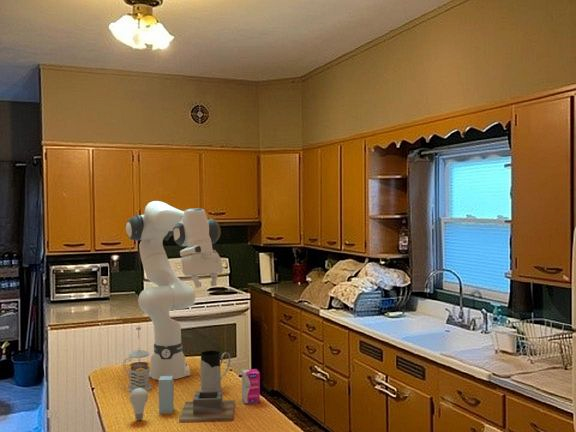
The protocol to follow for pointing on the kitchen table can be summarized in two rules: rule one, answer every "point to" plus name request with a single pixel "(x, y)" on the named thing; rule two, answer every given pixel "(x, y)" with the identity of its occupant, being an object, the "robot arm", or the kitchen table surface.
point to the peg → (166, 395)
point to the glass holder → (211, 370)
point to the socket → (207, 408)
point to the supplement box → (250, 386)
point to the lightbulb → (138, 401)
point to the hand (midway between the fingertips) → (206, 286)
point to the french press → (140, 382)
